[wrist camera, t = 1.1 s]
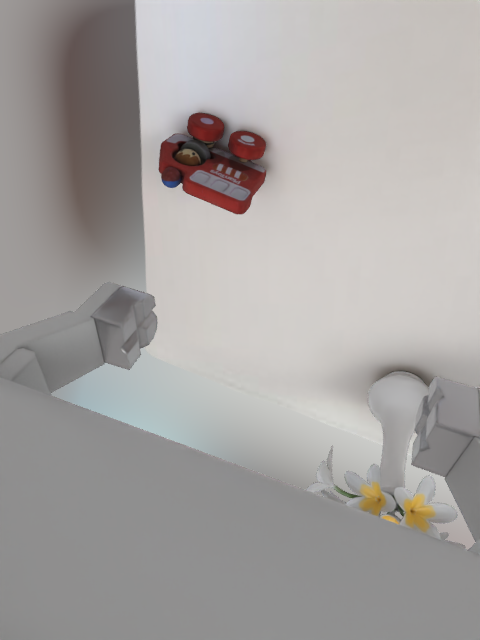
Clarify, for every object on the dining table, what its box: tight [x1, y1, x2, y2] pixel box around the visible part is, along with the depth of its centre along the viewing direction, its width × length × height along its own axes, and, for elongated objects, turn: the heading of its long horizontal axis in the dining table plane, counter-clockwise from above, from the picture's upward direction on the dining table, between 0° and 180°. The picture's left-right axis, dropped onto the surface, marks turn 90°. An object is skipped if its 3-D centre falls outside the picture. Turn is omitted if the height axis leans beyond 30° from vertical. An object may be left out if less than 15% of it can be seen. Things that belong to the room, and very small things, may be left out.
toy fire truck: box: [159, 113, 266, 214], centre depth 48 cm, size 7×12×10 cm, turn 76°
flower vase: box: [306, 371, 465, 549], centre depth 57 cm, size 13×18×25 cm
